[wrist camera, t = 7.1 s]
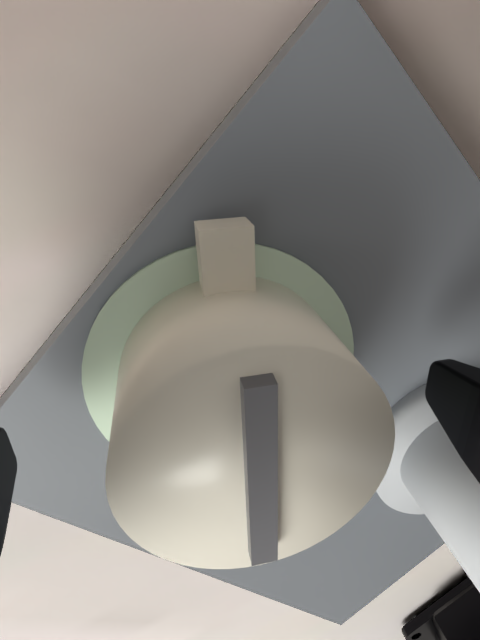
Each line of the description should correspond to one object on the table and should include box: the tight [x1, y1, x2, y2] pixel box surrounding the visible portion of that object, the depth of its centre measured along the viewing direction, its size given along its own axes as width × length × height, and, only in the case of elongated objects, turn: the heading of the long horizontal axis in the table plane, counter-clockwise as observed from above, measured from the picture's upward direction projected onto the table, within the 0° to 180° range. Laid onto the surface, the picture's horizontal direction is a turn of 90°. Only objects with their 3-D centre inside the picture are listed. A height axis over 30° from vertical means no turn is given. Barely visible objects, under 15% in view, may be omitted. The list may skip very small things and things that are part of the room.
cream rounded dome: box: [105, 217, 395, 569], centre depth 8 cm, size 7×5×3 cm
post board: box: [0, 0, 480, 625], centre depth 10 cm, size 15×13×6 cm
